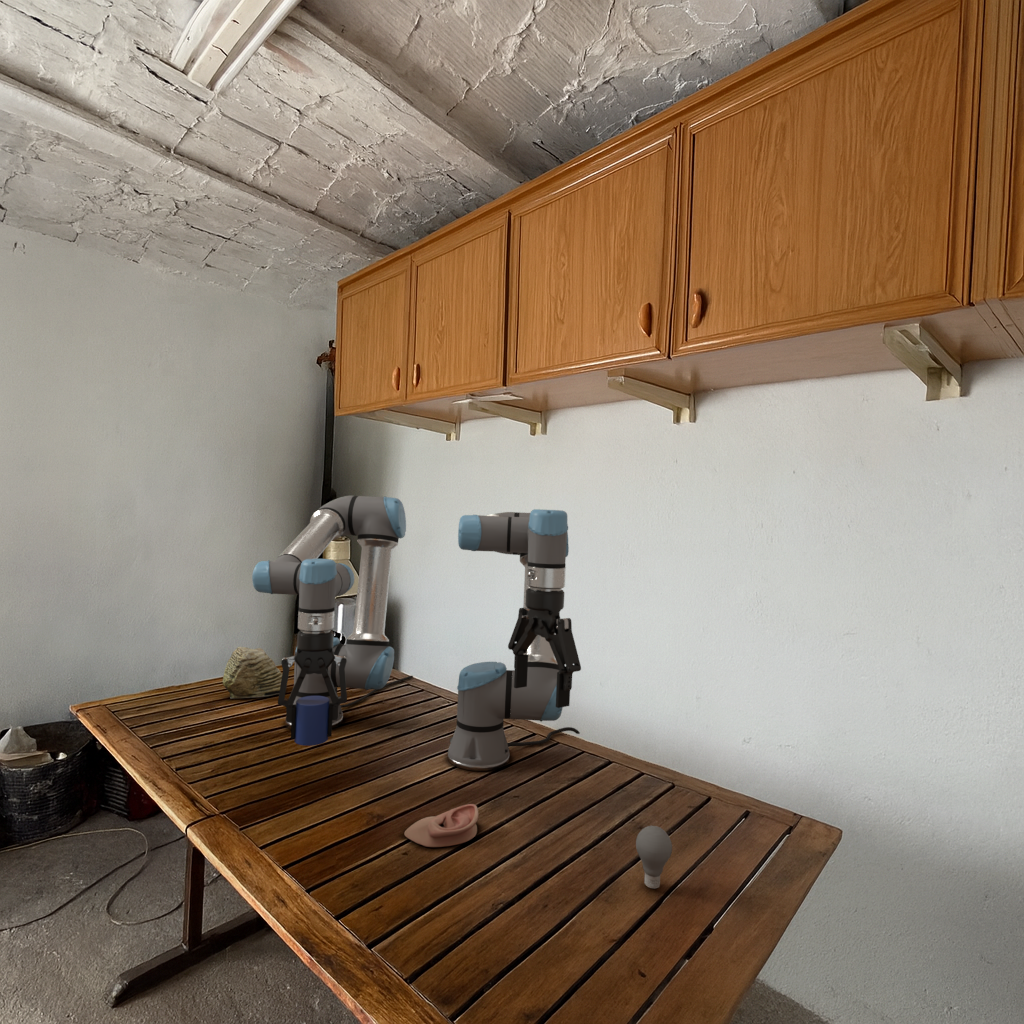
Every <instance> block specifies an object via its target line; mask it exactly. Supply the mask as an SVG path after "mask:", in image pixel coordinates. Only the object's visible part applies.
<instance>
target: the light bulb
mask: <svg viewBox="0 0 1024 1024" xmlns="http://www.w3.org/2000/svg"><path fill="white" fill-rule="evenodd" d="M635 848H636V849H635V850H636V852H637V854H638V857H639V858H640V860H641V863H642V869H643V872H644V879H643V880H644V885H645V886H647V887H648V888H650V889H658V888H660V886H661V875H662V874H663V871H664V867H665V866H666V863H668V861H669V860H670V858H671V855H672V852H673V842H672V840H671V838H670V836H669V834H668V832H666V831H665V829H663V828H662V827H660V826H657V825H648V826H645V827H643V828H642V829H641V830H640V831H639V832H638V833H637V835H636V839H635Z"/></svg>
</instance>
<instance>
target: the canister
mask: <svg viewBox="0 0 1024 1024" xmlns="http://www.w3.org/2000/svg"><path fill="white" fill-rule="evenodd" d="M329 701H330V700H329V698H327V697H324V696H306V697H302V698H299V699H298V700H297V701H296V718H295V738H294V743H295V744H297V745H300V746H307V747H308V746H309V747H310V746H311V747H313V746H317V745H321V744H324V743H326V742H327V741H328V740H329V737H328V725H329Z"/></svg>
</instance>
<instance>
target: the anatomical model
mask: <svg viewBox="0 0 1024 1024" xmlns="http://www.w3.org/2000/svg"><path fill="white" fill-rule="evenodd" d="M478 820H479V809H478V806H477V805H476V804H475V803H468V804H463V805H460V806H456V807H454V808H451V809H449V810H447V811H444V812H442V813H440V814H438V815H435V816H432V815H431V816H426V817H423V818H421V819H419V820H417V821H416V822H414V823H413V824H411V825H410V826H408V828H407V829H406V830H405V831H404V836H405V837H406V838H407V839H408V840H410V841H412V842H414V843H415V844H418V845H421V846H423V847H427V848H442V847H451V846H456V845H461V844H464V843H466V842H469V841H471V840H472V839H473V838H474V837H476V835H477V833H478V825H477V822H478Z"/></svg>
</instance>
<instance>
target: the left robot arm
mask: <svg viewBox="0 0 1024 1024" xmlns="http://www.w3.org/2000/svg"><path fill="white" fill-rule="evenodd" d="M406 532H407V517H406V511H405V507H404V504H403V502H402V501H401V499H399V498H397V497H392V496H391V497H390V496H375V495H374V496H371V495H368V496H367V495H344V496H340V497H338V498H335V499H332V500H330V501H329V502H327V503H325V504H323V505H321V507H319V508H318V509H316V511H314V512H313V514H312V515H311V516H310V520H309V523H308V524H307V526H305V527H304V529H303V530H302V531H301V532H300V533H298V535H297V536H296V537H295V538H294V539H293V540H292V542H290V544H288V546H286V548H284V550H283V551H282V552H281V553H280V554H279V555H278V556H277V557H276V558H275V559H274V560H270V559H268V560H261V561H258V562H257V563H256V564H255V566H254V568H253V571H252V577H251V579H252V581H251V582H252V586H253V588H254V590H255V591H256V592H258V593H262V594H270V595H293V596H298V614H297V616H298V617H297V629H298V630H299V631H298V632H297V641H296V647H295V654H294V655H291V656H288V657H287V656H283V657H282V659H281V661H280V662H281V663H280V664H281V667H282V672H281V673H282V679H281V686H280V692H279V694H278V697H277V705H278V706H283V707H285V709H286V712H285V726H286V728H287V729H289V730H290V740H295V718H296V701H297V700H298V699H299V698H302V697H306V696H324V697H327V698H329V700H330V701H329V725H328V738H331V737H332V736H333V735H332V734H333V729H335V728H337V727H339V726H340V725H342V723H343V722H344V714H343V709H344V708H347V707H348V708H349V707H350V706H353V705H356V704H358V703H359V702H362V701H363V700H365V699H367V698H368V697H370V696H371V695H372V694H374V693H376V692H378V691H380V690H382V689H385V688H386V687H389V686H392V685H394V684H397V683H401V682H403V681H407V680H410V679H412V678H414V675H412V674H411V675H408V676H405V677H403V678H399V679H396V680H394V681H391V682H389V680H390V677H391V675H392V671H393V668H394V662H395V649H394V647H392V646H390V639H389V638H388V637H387V636H386V634H385V629H386V621H387V620H386V618H387V611H388V610H387V608H388V599H389V590H390V589H389V587H390V578H391V569H392V567H391V566H392V556H393V550H394V549H395V548H396V547H398V545H399V540H400V539H403V538H405V537H406ZM341 536H355V537H357V539H356V541H357V543H358V544H359V546H360V547H361V552H360V563H359V573H358V574H359V575H358V580H357V591H356V600H355V609H354V610H355V611H354V620H353V629H352V633H351V634H350V635H348V636H347V637H346V641H345V644H344V643H343V644H341V641H340V639H339V638H338V637H334V636H335V632H334V631H333V629H334V628H335V614H336V613H335V609H336V607H335V606H336V598H337V597H340V596H343V595H345V594H346V593H348V591H350V590H351V589H352V588H353V585H354V584H355V573H354V571H353V570H352V568H351V567H350V566H349V565H348V564H345V563H342V562H338V563H337V562H336V561H335V560H333V559H329V558H319V557H320V556H321V555H322V554H323V552H324V551H325V550H326V549H327V547H328V546H329V545H330V543H332V541H333V542H334V541H335V540H337V539H339V538H340V537H341ZM293 664H294V670H293V671H294V672H293V687H292V690H291V692H290V693H289V696H288V698H286V695H287V689H288V688H287V687H288V681H289V675H290V670H291V669H290V668H292V667H293ZM338 688H339V689H340V696H339V695H338ZM347 689H359V690H365V691H369V692H368V693H367V694H365V695H364V696H362V697H360V698H358V699H356V700H354V701H351V702H349V703H347V702H348V693H347ZM370 690H371V691H370ZM342 708H343V709H342Z"/></svg>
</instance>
